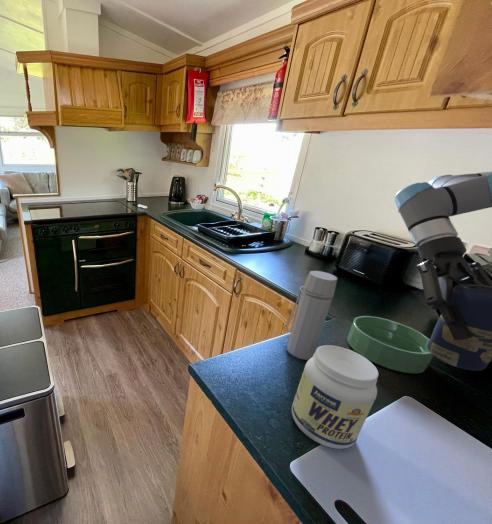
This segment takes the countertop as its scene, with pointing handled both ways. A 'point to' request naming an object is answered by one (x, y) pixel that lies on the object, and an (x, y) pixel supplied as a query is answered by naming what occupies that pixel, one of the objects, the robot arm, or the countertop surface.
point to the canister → (478, 323)
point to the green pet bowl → (390, 344)
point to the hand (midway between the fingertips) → (485, 338)
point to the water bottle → (310, 314)
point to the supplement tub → (335, 396)
